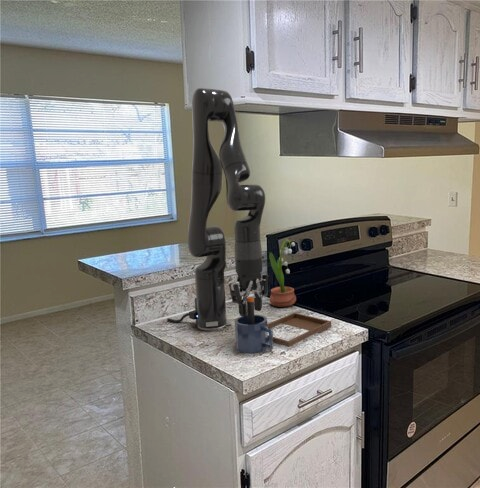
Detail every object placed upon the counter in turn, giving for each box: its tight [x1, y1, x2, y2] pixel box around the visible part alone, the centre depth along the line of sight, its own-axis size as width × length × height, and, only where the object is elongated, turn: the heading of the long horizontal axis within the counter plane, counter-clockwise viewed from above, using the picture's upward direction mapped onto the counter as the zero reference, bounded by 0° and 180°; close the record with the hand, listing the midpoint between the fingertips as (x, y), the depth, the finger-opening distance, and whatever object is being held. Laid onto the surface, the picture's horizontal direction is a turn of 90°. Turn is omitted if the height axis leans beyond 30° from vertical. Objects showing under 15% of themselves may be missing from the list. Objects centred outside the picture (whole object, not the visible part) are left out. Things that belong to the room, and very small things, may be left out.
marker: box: [246, 296, 255, 325], centre depth 142 cm, size 2×2×15 cm
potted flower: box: [268, 238, 297, 308], centre depth 183 cm, size 12×10×25 cm
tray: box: [267, 312, 332, 348], centre depth 157 cm, size 16×22×2 cm
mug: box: [234, 314, 274, 355], centre depth 142 cm, size 13×9×9 cm
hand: (250, 312), depth 142 cm, fingers open, 5 cm apart
